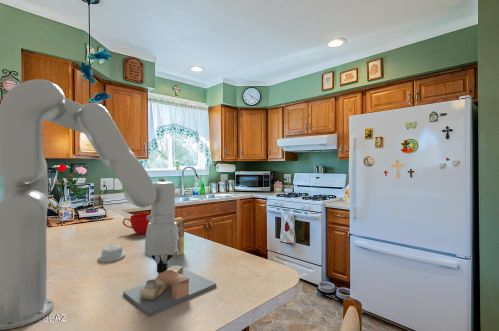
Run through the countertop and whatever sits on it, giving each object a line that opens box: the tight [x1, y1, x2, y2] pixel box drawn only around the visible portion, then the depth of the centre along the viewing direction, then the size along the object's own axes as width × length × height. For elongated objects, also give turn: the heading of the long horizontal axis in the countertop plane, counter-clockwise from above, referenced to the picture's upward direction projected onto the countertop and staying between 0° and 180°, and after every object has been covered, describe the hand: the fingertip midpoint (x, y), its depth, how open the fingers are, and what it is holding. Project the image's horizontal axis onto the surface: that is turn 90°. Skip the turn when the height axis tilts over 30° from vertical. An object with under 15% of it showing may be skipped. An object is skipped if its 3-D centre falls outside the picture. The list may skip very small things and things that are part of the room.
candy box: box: [161, 217, 185, 258], centre depth 111 cm, size 9×4×15 cm, turn 137°
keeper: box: [159, 270, 189, 300], centre depth 76 cm, size 4×10×5 cm, turn 48°
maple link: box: [140, 265, 184, 300], centre depth 80 cm, size 18×4×4 cm, turn 168°
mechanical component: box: [97, 245, 126, 263], centre depth 108 cm, size 10×4×10 cm
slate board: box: [122, 269, 217, 317], centre depth 79 cm, size 22×16×1 cm
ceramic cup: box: [122, 213, 151, 235], centre depth 148 cm, size 13×17×10 cm
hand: (162, 274), depth 86 cm, fingers closed
